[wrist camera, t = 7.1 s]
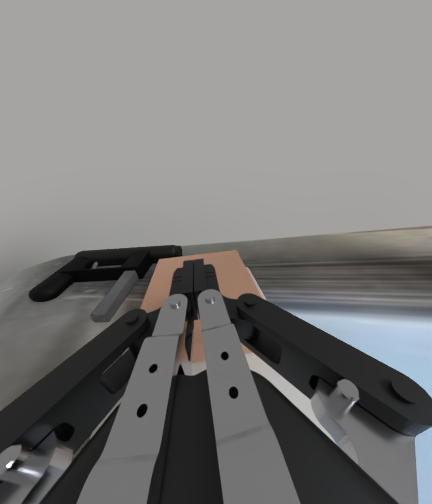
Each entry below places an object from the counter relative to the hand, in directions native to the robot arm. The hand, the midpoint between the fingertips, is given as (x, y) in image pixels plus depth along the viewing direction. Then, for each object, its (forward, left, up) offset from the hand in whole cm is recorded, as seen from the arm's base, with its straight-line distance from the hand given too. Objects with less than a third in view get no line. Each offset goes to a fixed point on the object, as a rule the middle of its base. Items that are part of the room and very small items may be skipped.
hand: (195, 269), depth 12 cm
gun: (+14, -12, -9) cm, 20 cm away
